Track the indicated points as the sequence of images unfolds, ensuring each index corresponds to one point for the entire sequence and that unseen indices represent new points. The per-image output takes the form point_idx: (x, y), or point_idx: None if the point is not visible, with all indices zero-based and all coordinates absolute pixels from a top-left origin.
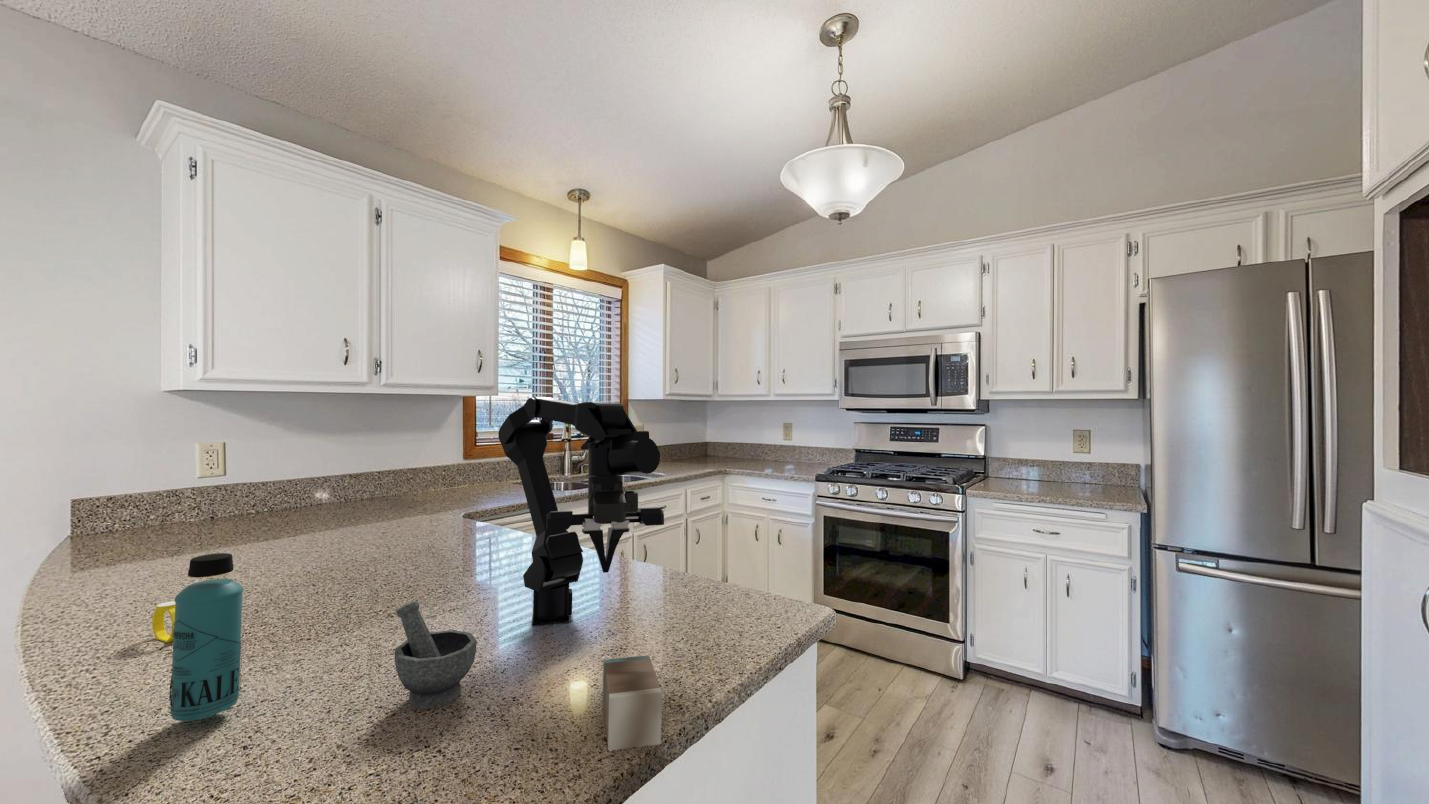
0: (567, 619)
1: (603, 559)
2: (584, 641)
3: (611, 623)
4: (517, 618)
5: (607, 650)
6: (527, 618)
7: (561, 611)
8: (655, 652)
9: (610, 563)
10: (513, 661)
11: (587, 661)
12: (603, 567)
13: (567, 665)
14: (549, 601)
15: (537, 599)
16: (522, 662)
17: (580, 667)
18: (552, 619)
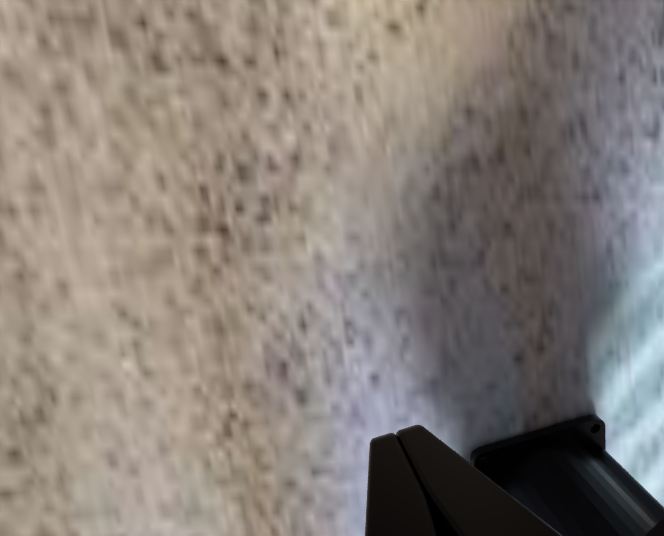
0: (480, 458)
1: (481, 519)
2: (390, 290)
3: (303, 462)
4: (645, 467)
5: (281, 205)
6: None
7: (517, 484)
8: (48, 185)
9: (372, 507)
10: (636, 104)
11: (352, 94)
12: (438, 454)
13: (431, 56)
14: (593, 496)
15: (643, 504)
16: (604, 93)
17: (374, 33)
18: (535, 448)
